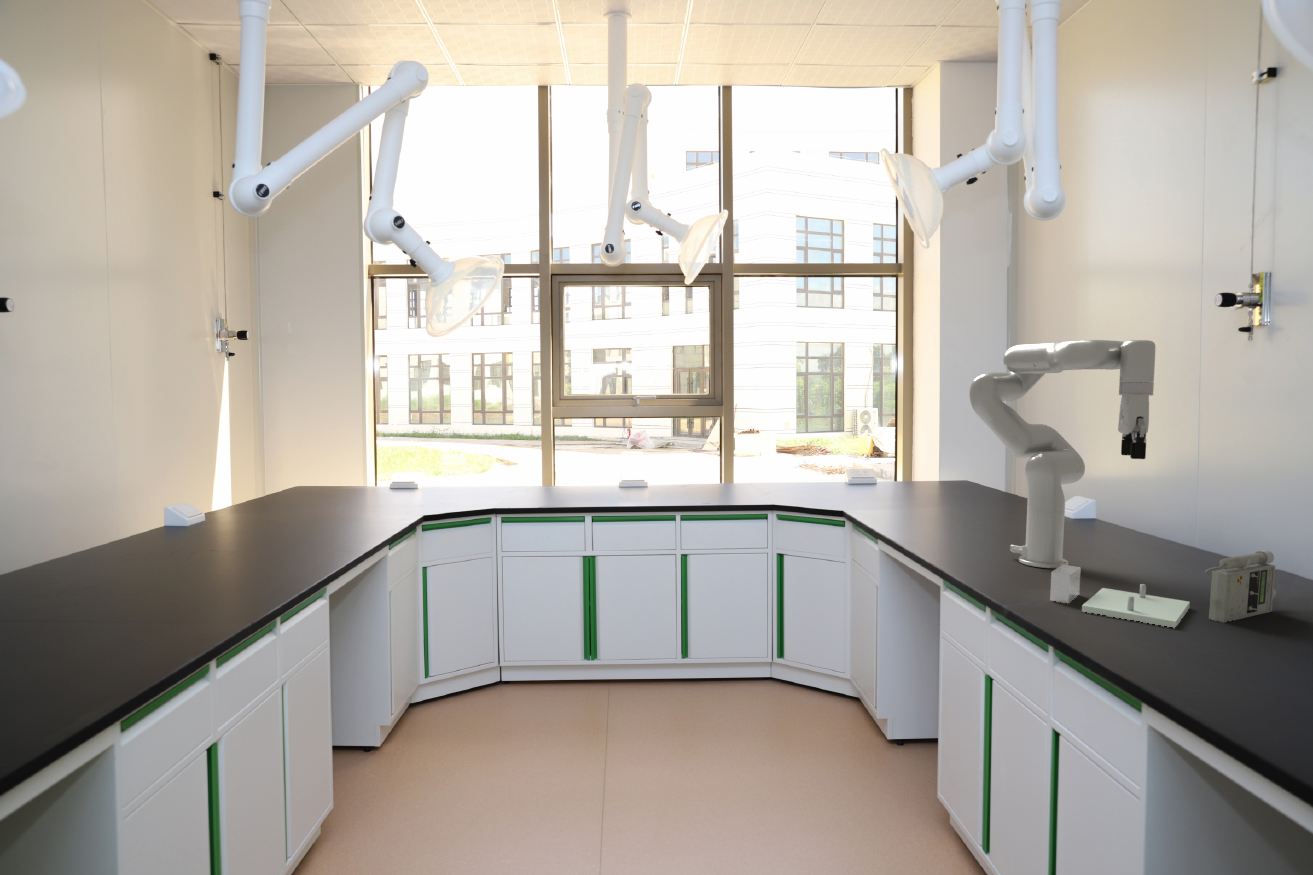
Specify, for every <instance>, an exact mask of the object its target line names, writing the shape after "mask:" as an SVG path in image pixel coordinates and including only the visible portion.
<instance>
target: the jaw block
mask: <svg viewBox="0 0 1313 875" xmlns="http://www.w3.org/2000/svg"><path fill="white" fill-rule="evenodd" d="M1081 568H1082V567H1081V566H1076V565H1075V566H1074V565H1069V564H1068V565H1061V566H1060V567H1058V568H1054V569H1053V570H1052V571H1051V574H1050V592H1049V596H1050V597H1049V601H1051V602H1054V601H1056V603H1060V602H1061V604H1065V603H1067V604H1066V605H1069V604H1070V603H1072V602H1073V601H1074V600H1075V599H1076V598H1078V597H1079V596H1080V589H1081V588H1080V585H1081ZM1078 595H1079V596H1078ZM1077 596H1078V597H1077ZM1074 598H1075V599H1074ZM1072 600H1073V601H1072ZM1068 603H1069V604H1068Z"/></svg>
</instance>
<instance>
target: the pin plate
mask: <svg viewBox="0 0 1313 875" xmlns="http://www.w3.org/2000/svg"><path fill="white" fill-rule="evenodd" d="M1146 592H1147V584H1144V583H1142V584H1141V583H1140V584H1139V593H1137V592H1132V591H1124V590H1119V589H1111V588H1105V587H1102V588H1100V590H1098V591H1097V592H1096V593H1095V594H1094V595H1092V597H1090V598H1089V599H1088V600H1087V601H1085V602H1084V603H1083V604H1082V605H1081V612H1082V613H1085V612H1087V614H1091V613H1094V614H1093V615H1097V614H1100V615H1099V616H1102V615H1106V616H1105V617H1109V618H1113V617H1115V618H1114V619H1119V618H1121V619H1120V620H1124V619H1127V620H1126V621H1130V620H1134V621H1133V622H1136V621H1140V622H1139V623H1141V622H1143V623H1142V624H1147V623H1149V625H1152V624H1155V625H1154V626H1158V625H1161V626H1160V627H1164V626H1167V627H1166V628H1169V627H1173V628H1172V629H1176V628H1177V627H1178V625H1179V624H1180V622H1181V621H1182V620H1183V618H1184V617H1185V615H1186V614H1187V612H1188V611H1189V610H1190V603H1191V601H1187V600H1181V599H1175V598H1169V597H1162V596H1156V595H1152V594H1151V595H1150V594H1146ZM1188 609H1189V610H1188ZM1181 619H1182V620H1181ZM1176 626H1177V627H1176ZM1175 627H1176V628H1175Z"/></svg>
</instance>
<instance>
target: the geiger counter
mask: <svg viewBox="0 0 1313 875" xmlns="http://www.w3.org/2000/svg"><path fill="white" fill-rule="evenodd" d="M1274 560H1275V555H1274V553H1273V552H1272V551H1270V550H1267V549H1264V550H1263V549H1262V550H1258V551H1255V553H1249V554H1243V555H1238V556H1231V557H1227V558H1226V557H1225V558H1222V559H1220V560H1219V563H1218V564H1219V566H1214V567H1209V568H1207V569H1206V570H1205V571H1204V574H1205V575H1209V576H1211V584H1210V597H1209V612H1208V620H1210V619H1211V620H1210V621H1213V620H1214V622H1217V621H1219V622H1218V623H1223V624H1224V623H1228V622H1227V621H1229V622H1232V620H1233V621H1237V620H1241V619H1245V618H1250V617H1254V616H1258V615H1263V614H1267V613H1271V612H1273V600H1274V599H1276V598H1277V593H1278V591H1277V587H1276V584H1275V576H1276V575H1275V573H1276V572H1275V571H1276V564H1273V561H1274ZM1215 569H1217V570H1215ZM1209 571H1211V572H1209Z"/></svg>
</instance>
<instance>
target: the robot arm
mask: <svg viewBox="0 0 1313 875" xmlns="http://www.w3.org/2000/svg"><path fill="white" fill-rule="evenodd" d="M1003 354H1004V355H1003V358H1002V359H1003V364H1004V366H1005V368H1006V369H1007V370H1008V371H1009V372H987V373H982V374H979V375H978V376H976V377H975V378H974V379H973V381H972V382H971V384H970V388H969V401H970V404H971V407H972V409H973V411H974V412H975V414H976V415H977V416H978V417H979V418H980V420H982V422H984V424H985V425H987V427H988V428H989V429H990V430H991V431H992V432H993V434H995V436H996V437H997V439H998V440H1000V441H1001V443H1002V444H1003V445H1004V446H1005V447H1006V448H1007V449H1008V450H1009V452H1011V453H1012V454H1013V456H1016V457H1018V458H1024V459H1025V458H1028V460H1027V462H1026V464H1025V467H1024V468H1025V469H1024V470H1025V471H1024V474H1025V481H1026V489H1027V503H1026V508H1027V509H1026V528H1025V530H1026V532H1025V544H1024V545H1023V544H1022V546H1021V545H1015V544H1010V546H1009V551H1010V552H1012V553H1014V554H1020V556H1019V557H1018V561H1019V563H1021V564H1023V565H1026V566H1031V567H1037V568H1042V569H1043V568H1044V569H1057V568H1058V567H1060V566H1061V565H1069V561H1068V560H1067V559H1065V558H1063V552H1064V532H1065V515H1066V514H1065V513H1066V509H1065V507H1066V500H1065V494H1064V490H1063V487H1062V485H1069V484H1070V485H1071V484H1074V483H1077V482H1078V481H1080V480H1081V479H1082V478H1083V476H1084V475H1085V470H1086V466H1085V462H1084V460H1083V458H1082V456H1081V455H1080V453H1079V452H1078V451H1077V450H1076V449H1075V448H1074V447H1073V446H1072V445H1071V444H1070V443H1069V442H1068V440H1066V439H1065V438H1064V437H1063V435H1061V434H1060V433H1059V431H1057V430H1056V429H1055V428H1053V427H1051V426H1049V425H1048V424H1040V423H1032V424H1031V423H1029V422H1027V421H1026V420H1024V418H1023V417H1022V416H1021V415H1020V414H1019V413H1018V412H1017V411H1016V410H1015V409H1014V408H1013V407H1011V406H1009V405H1008V404H1007V403H1005V402H1011V401H1012V402H1013V401H1017V400H1019V399H1022V397H1024V396H1025V395H1026V394H1027V393H1028V392H1029V391H1030V390H1031V389H1032V388H1033V387H1034V386H1035V385H1036V384H1037V383H1038V382H1039V381H1040V380H1041V379H1042V378H1043V377H1044V376H1045V374H1059V373H1062V372H1063V371H1073V370H1074V371H1076V370H1077V371H1078V370H1079V371H1080V370H1106V371H1107V370H1119V387H1118V395H1119V396H1121V399H1120V405H1119V413H1118V414H1119V415H1118V424H1117V426H1118V427H1117V431H1118V432H1119V433H1120V434H1122V435H1121V447H1120V448H1121V449H1120V450H1121V451H1120V454H1121V456H1130V459H1132V460H1146V456H1147V455H1146V454H1147V453H1146V452H1147V434H1148V432H1149V423H1150V396H1154V385H1155V366H1156V365H1155V364H1156V344H1155V342H1154V341H1153V340H1148V339H1146V340H1145V339H1140V340H1139V339H1137V340H1136V339H1133V340H1132V339H1131V340H1125V341H1123V340H1122V341H1121V340H1109V339H1107V340H1105V339H1087V340H1085V339H1084V340H1074V341H1073V340H1071V341H1052V342H1051V341H1050V342H1038V343H1037V342H1035V343H1022V344H1021V343H1020V344H1016V345H1013V346H1011V347H1009V348H1008V349H1007V350H1006V351H1005V352H1004V353H1003Z"/></svg>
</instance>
